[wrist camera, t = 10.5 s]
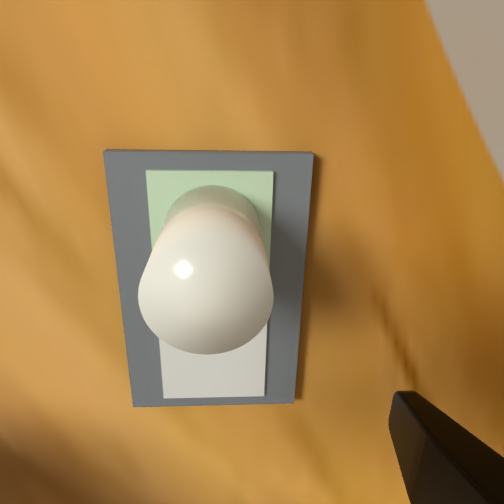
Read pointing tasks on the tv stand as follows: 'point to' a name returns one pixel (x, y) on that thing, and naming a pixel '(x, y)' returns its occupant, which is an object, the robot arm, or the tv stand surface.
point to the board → (278, 256)
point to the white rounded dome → (207, 274)
